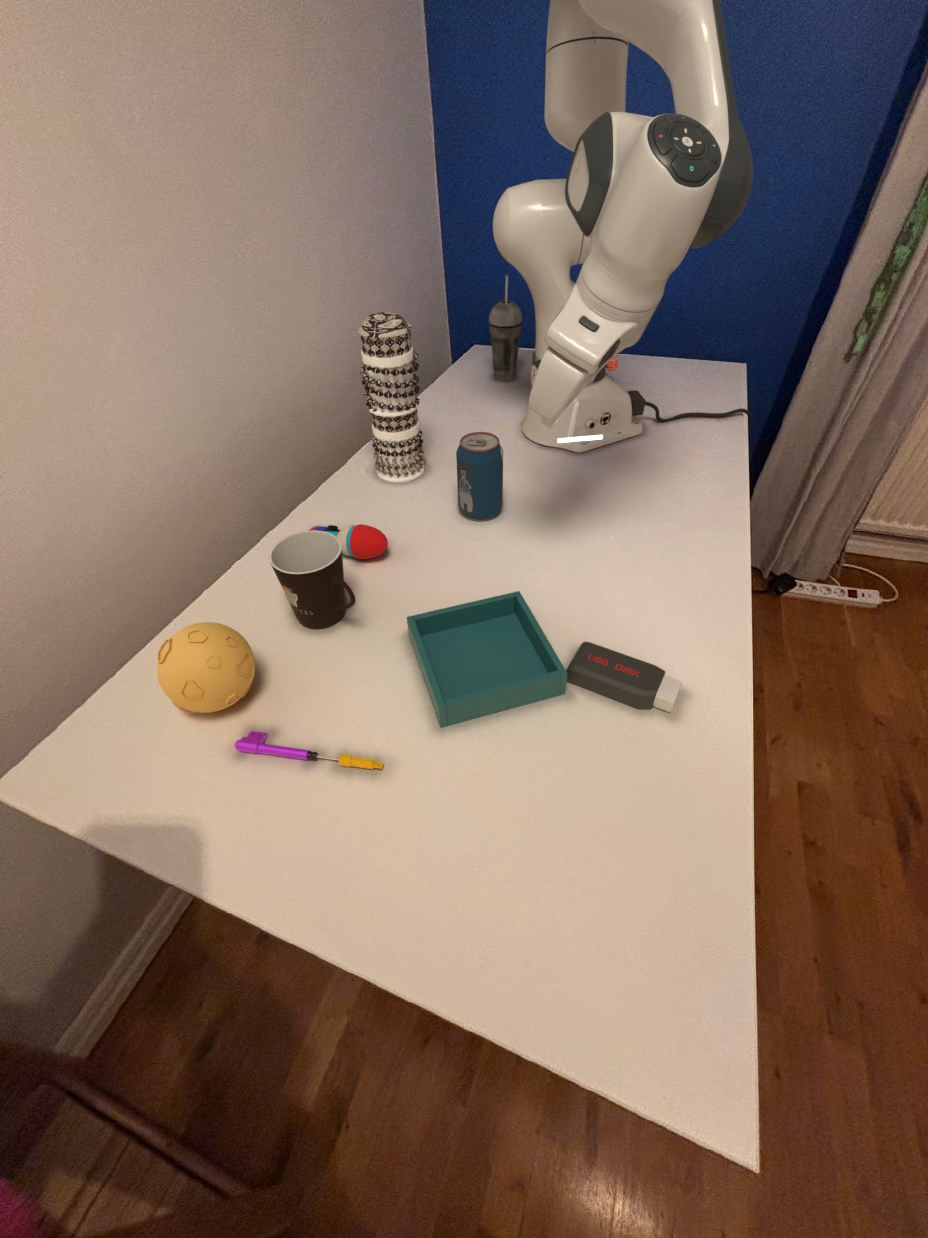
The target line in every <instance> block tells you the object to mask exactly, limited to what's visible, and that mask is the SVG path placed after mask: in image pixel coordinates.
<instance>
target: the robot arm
mask: <svg viewBox="0 0 928 1238" xmlns="http://www.w3.org/2000/svg"><path fill="white" fill-rule="evenodd" d="M548 8H549V9H548V18H547V29H546V47H545V73H544V74H545V77H544V79H545V80H544V82H545V83H544V117H543V118H544V124H545V127H546V129H547V131H548V133H549V135H550V136H551V137H552V139H553V140H554V141H555V142H556V143H558V144H559V145H560V146H562V147H564V148H565V149H567V150H569V151H571V152H572V153H573V154H572V156H571V160H570V164H569V167H568V171H567V174H566V178H548V179H547V178H545V179H543V178H542V179H534V180H531V181H527V182H523V183H519V184H516V185H513V186H509V187H507V188H506V189H505V191H503V193H502V195H501V196H500V198H499V199H498V202H497V204H496V206H495V209H494V213H493V218H492V232H493V239H494V243H495V245H496V248H497V250H498V252H499V253H500V255H501V257H502V258H503V259H504V260H505V261H506V262H507V263H509V264H510V265H511V266H512V267H513V268H515V270H516V271H517V272H518V273H519V274H520V275H521V277H522V279H523V280H524V282H525V283H526V285H527V287H528V289H529V292H530V294H531V297H532V301H533V307H534V318H535V346H534V351H533V353H532V357H531V367H530V385H531V389H530V393H529V397H528V407H527V413H526V415H525V419H524V422H523V425H522V433H523V434H524V436H525V437H526V438H527V439H529V440H530V441H532V442H534V443H536V444H539V445H542V446H546V447H552V448H558V449H565V450H568V451H570V452H573V453H585V452H587V451H591V450H595V449H597V448H600V447H603V446H607V445H610V444H613V443H616V442H617V443H618V442H620V441H623V440H626V439H629V438H632V437H635V436H638V435H642V433H643V423H642V420H641V419H640V417H638V416H643V415H644V413H645V406H646V407H650V408H652V409H653V410H654V412H655V420H656V421H657V422H659V423H663V424H664V423H669V422H673V421H676V420H679V419H682V418H687V417H702V418H703V417H704V418H723V417H724V418H725V417H728V416H732V415H735V414H738V413H739V414H740V413H743V414H745V415H746V416H753V414H752V413H751V412H750V410H748V409H746V408H736V409H732V410H729V411H726V412H683V413H680V414H677V415H674V416H673V417H672V416H671V417H669V418H662V417H660V409H659V407H658V406H657V405H656V404H654V403H652V402H649V401H647V400H646V399H645V397H643V395H642V394H641V393H640V391H639V390H636V389H635V390H626V389H625V387H623V386H622V385H621V384H620V383H619V382H618V381H616V380H615V379H614V378H613V377H611V376H610V375H609V374H608V373H607V372H606V369H607V370H608V371H610V372H615V371H616V370H617V369H618V368H619V361H618V359H616V358H614V357H615V356H616V355H617V354H619V353H621V352H623V350H625V349H627V348H631V347H632V346H634V345H635V344H637V343H638V342H639V341H640V339H641V337H642V335H643V334H644V332H645V330H646V329H647V327H648V325H649V322H650V321H651V320H652V317H653V315H654V314H655V312H656V310H657V308H658V306H659V304H660V303H661V300H662V298H663V296H664V293H665V290H666V285H667V282H668V280H669V278H670V276H671V275H672V273H673V272H675V270H677V268H678V267H679V266H680V265H681V263H682V261H683V260H684V258H685V256H686V255H687V253H688V251H689V249H690V248H693V249H701V248H703V247H705V246H707V245H709V244H711V242H713V241H715V240H716V239H718V238H719V237H721V236H722V235H723V234H724V233H725V232H727V230H728V229H730V228H731V227H732V225H733V224H734V223H735V222H736V221H737V220H738V218H739V217H740V216H741V214H742V213H743V211H744V209H745V207H746V205H747V203H748V200H749V198H750V194H751V190H752V186H753V178H754V166H753V157H752V151H751V148H750V144H749V141H748V138H747V135H746V133H745V130H744V128H743V125H742V123H741V120H740V116H739V112H738V106H737V101H736V94H735V93H736V92H735V88H734V81H733V75H732V69H731V68H732V67H731V62H730V56H729V55H730V54H729V49H728V42H727V35H726V29H725V24H724V23H725V22H724V16H723V11H722V6H721V1H720V0H549V7H548ZM629 44H632V45H633V46H635V47H636V48H638V49H639V50H641V51H643V52H644V53H645V54H647V55H648V56H650V57H651V59H653V60H654V61H655V62H656V63H657V64H658V65H659V66H660V67H661V69H662V70H663V71H664V73H665V74H666V76H667V78H668V80H669V83H670V85H671V86H670V88H671V92H672V97H673V98H672V99H673V103H674V104H673V105H674V112H671V113H669V112H668V113H662V114H658V115H656V116H650V115H643V114H638V113H632V112H627V101H626V100H627V77H628V76H627V75H628V74H627V73H628V61H629V60H628V59H629V47H630V45H629ZM577 265H582V266H581V269H580V272H579V274H578V276H577V279H576V282H575V281H573V280H572V279H571V268H572V267H573V266H577Z"/></svg>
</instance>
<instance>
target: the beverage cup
mask: <svg viewBox="0 0 928 1238" xmlns="http://www.w3.org/2000/svg"><path fill="white" fill-rule="evenodd" d="M504 283H505V284H504V285H505V287H504V289H505V290H504V300H501V301H498V302H497V303H496V304H494V305H493V307H492V308H491V310H490V313H489V316H488V320H487V321H488V322H487V323H488V327H489V333H490V339H491V353H492V365H493V366H492V368H493V375H494V380H497V381H498V382H511V381H513V380H514V379H515V378H516V377H515V376H516V371H517V361H518V354H519V346H520V345H519V344H520V336H521V333H522V329H523V327H522V326H523V323H524V322H523V315H522V311H521V309H520V307H519V306H518V305H517V303H515V302H513V301H511V300H509V299H508V296H509V293H508V292H509V275H508V274H507V275H505V282H504Z"/></svg>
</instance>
